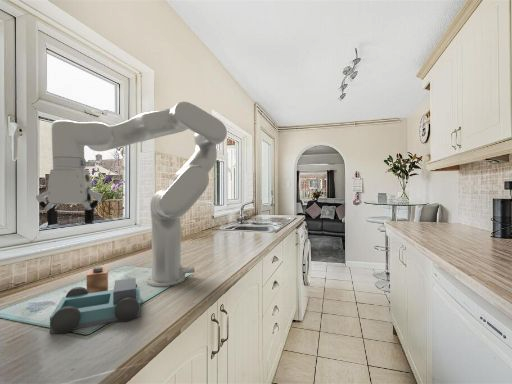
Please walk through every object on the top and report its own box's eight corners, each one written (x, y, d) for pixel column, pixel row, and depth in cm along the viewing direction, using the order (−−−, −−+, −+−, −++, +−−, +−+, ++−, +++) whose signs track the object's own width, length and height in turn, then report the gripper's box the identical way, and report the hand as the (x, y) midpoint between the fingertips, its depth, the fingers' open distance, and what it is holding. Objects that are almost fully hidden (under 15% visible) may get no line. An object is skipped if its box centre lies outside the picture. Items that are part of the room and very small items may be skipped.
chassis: (139, 296, 77) (139, 274, 77) (140, 318, 63) (140, 291, 63) (63, 308, 69) (63, 283, 69) (48, 336, 56) (48, 305, 56)
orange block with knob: (108, 290, 81) (108, 265, 81) (106, 296, 77) (106, 269, 77) (89, 293, 79) (89, 267, 79) (86, 299, 75) (86, 271, 74)
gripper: (106, 165, 81) (108, 221, 81) (45, 166, 78) (47, 223, 79) (94, 163, 73) (96, 224, 74) (26, 164, 71) (28, 227, 71)
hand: (71, 223), depth 76 cm, fingers open, 9 cm apart
